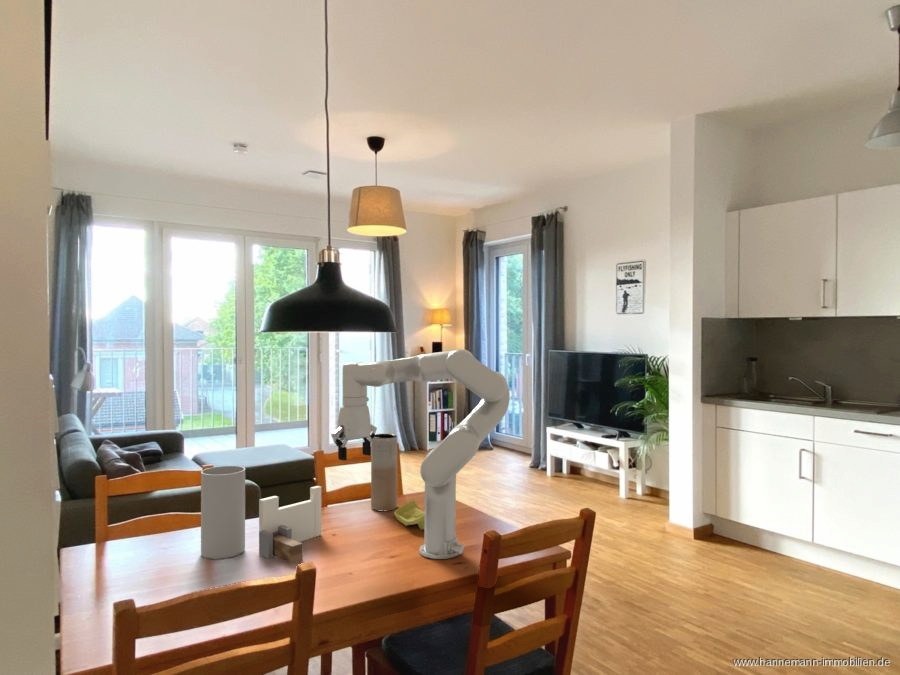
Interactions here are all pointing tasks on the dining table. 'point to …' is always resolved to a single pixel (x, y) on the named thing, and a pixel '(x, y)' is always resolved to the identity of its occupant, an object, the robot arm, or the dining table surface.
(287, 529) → the headboard
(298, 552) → the rectangular block
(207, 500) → the cylinder vase
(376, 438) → the planter
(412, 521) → the plastic component
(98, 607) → the dining table surface
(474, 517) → the dining table surface
